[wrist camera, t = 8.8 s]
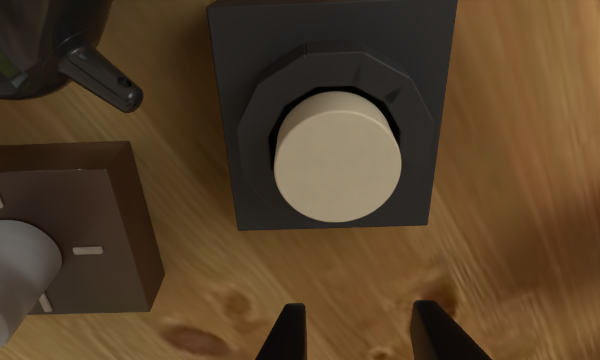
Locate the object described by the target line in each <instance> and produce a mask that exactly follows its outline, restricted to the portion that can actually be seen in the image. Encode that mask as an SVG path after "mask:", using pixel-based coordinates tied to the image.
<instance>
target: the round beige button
mask: <svg viewBox="0 0 600 360" xmlns="http://www.w3.org/2000/svg"><path fill="white" fill-rule="evenodd" d="M400 173H401V154H400V150H399V147H398V145H397V142H396V140H395V138H394V136H393V133H392V131H391V129H390V127H389V125H388V122H387V120H386V118H385V117H384V115H383V114H382V112H381V111H380V110H379V109H378V108H377V107H376V106H375V105H374V104H373V103H371V102H370V101H368V100H367V99H365V98H363V97H361V96H359V95H356V94H352V93H348V92H341V91H332V92H324V93H320V94H317V95H314V96H311V97H309V98H307V99H305V100H303V101H302V102H300V103H299V104H298V105H296V106H295V107H294V108H293V109H292V110H291V111H290V112H289V114H288V115H287V116H286V118H285V119H284V121H283V123H282V125H281V127H280V130H279V133H278V138H277V145H276V153H275V160H274V175H275V181H276V184H277V187H278V189H279V191H280V193H281V194H282V196H283V197H284V199H285V200H286V201H287V202H288V203H289V204H290V205H291V206H292V207H293V208H294V209H295V210H297V211H298V212H300V213H301V214H303V215H305V216H307V217H310V218H312V219H315V220H319V221H325V222H346V221H351V220H355V219H358V218H361V217H364V216H366V215H368V214H370V213H371V212H373V211H375V210H376V209H377V208H379V207H380V206H381V205H382V204H383V203H384V202H386V200H387V199H388V198H389V197H390V196H391V194H392V192H393V191H394V189H395V187H396V185H397V183H398V180H399V177H400Z"/></svg>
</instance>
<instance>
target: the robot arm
mask: <svg viewBox="0 0 600 360" xmlns="http://www.w3.org/2000/svg"><path fill="white" fill-rule="evenodd" d="M410 333H411V341H412V347H413V352H414V358H415V360H492V359H491V358H490V357H489V356H488V355H487V354H486V353H485V352H484V351H483V350H482V349H481V348H480V347H479V346H478V345H477V344H476V343H475V342H474V341H473V339H472V338H471V337H470V336H469V335H468V334H467V333H466V332H465V331H464V330H463V329H462V328H461V327H460V326H459V325H458V324H457V323H456V322H455V321H454V320H453V319H452V318H451V317H450V316H449V315H448V314H447V313H446V312H445V311H444V310H443V309H442V308H441V307H440V306H439V305H438V303H436V302H435V301H433V300H417V301H415V302H414V304H413V311H412V319H411V327H410ZM255 360H307V330H306V310H305V305H304V304H303V303H289V304H286V305H285V306H284V308H283V310H282V311H281V313H280V315H279V317H278V319H277V321H276V322H275V324H274V326H273V328H272V330H271V332H270V333H269V335H268V337H267V339H266V341H265V342H264V344H263V346H262V348H261V350H260V352H259V353H258V355H257V357H256V359H255Z"/></svg>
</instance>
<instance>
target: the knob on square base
mask: <svg viewBox="0 0 600 360" xmlns="http://www.w3.org/2000/svg"><path fill="white" fill-rule="evenodd" d="M457 1H458V0H216V1H215V2H214V3H212V4H211V5H209V6H208V7H207V9H206V10H207V17H208V24H209V31H210V38H211V45H212V52H213V59H214V66H215V73H216V80H217V87H218V94H219V101H220V108H221V115H222V122H223V129H224V136H225V143H226V150H227V157H228V164H229V171H230V178H231V185H232V192H233V199H234V206H235V213H236V220H237V227H238V231H247V230H282V229H317V228H351V227H386V226H421V225H427V224H428V216H429V209H430V202H431V194H432V187H433V179H434V172H435V164H436V157H437V150H438V142H439V135H440V127H441V120H442V112H443V105H444V98H445V90H446V83H447V75H448V68H449V61H450V53H451V46H452V38H453V31H454V23H455V16H456V9H457ZM332 91H341V92H348V93H352V94H356V95H359V96H361V97H363V98H365V99H367V100H368V101H370V102H371V103H373V104H374V105H375V106H376V107H377V108H378V109H379V110H380V111H381V112H382V114H383V115H384V117H385V118H386V120H387V122H388V125H389V127H390V129H391V131H392V133H393V136H394V138H395V140H396V142H397V145H398V147H399V150H400V154H401V173H400V177H399V180H398V183H397V185H396V187H395V189H394V191H393V192H392V194H391V196H390V197H389V198H388V199H387V200H386V202H384V203H383V204H382V205H381V206H380V207H379V208H377V209H376V210H375V211H373V212H371V213H370V214H368V215H366V216H364V217H361V218H358V219H355V220H351V221H346V222H325V221H319V220H315V219H312V218H310V217H307V216H305V215H303V214H301V213H300V212H298V211H297V210H295V209H294V208H293V207H292V206H291V205H290V204H289V203H288V202H287V201H286V200H285V199H284V197H283V196H282V194H281V193H280V191H279V189H278V187H277V184H276V181H275V175H274V160H275V153H276V145H277V138H278V133H279V130H280V127H281V125H282V123H283V121H284V119H285V118H286V116H287V115H288V114H289V112H290V111H291V110H292V109H293V108H294V107H295V106H296V105H298V104H299V103H300V102H302V101H303V100H305V99H307V98H309V97H311V96H314V95H317V94H320V93H324V92H332Z"/></svg>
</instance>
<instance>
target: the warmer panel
mask: <svg viewBox="0 0 600 360" xmlns="http://www.w3.org/2000/svg"><path fill="white" fill-rule="evenodd" d="M0 220H15V221H20V222H24V223H27V224H30V225H32V226H34V227H36V228H38V229H40V230H41V231H43V232H44V233H45V234H47V235H48V236H49V237H50V238H51V239H52V240H53V241H54V242H55V244H56V245H57V247H58V248H59V250H60V253H61V256H62V265H61V269H60V271H59V272H58V274H57V275H56V277H55V278H54V279H53V281H52V282H51V283H50V285H49V286H48V287H47V289H46V290H45V292H44V293H43V294H42V296H41V297H40V298H39V300H38V301H37V303H36V304H35V305H34V307H33V308H32V309H31V311H30V312H29V314H28V315H39V314H81V313H123V312H150V310H151V308H152V305H153V303H154V300H155V298H156V296H157V293H158V291H159V288H160V286H161V283H162V281H163V278H164V276H165V273H164V269H163V265H162V261H161V258H160V254H159V250H158V246H157V243H156V239H155V235H154V231H153V228H152V224H151V220H150V216H149V213H148V209H147V205H146V201H145V198H144V194H143V190H142V186H141V183H140V179H139V175H138V171H137V168H136V164H135V160H134V156H133V153H132V149H131V145H130V142H129V141H119V142H90V143H62V144H33V145H4V146H0Z"/></svg>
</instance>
